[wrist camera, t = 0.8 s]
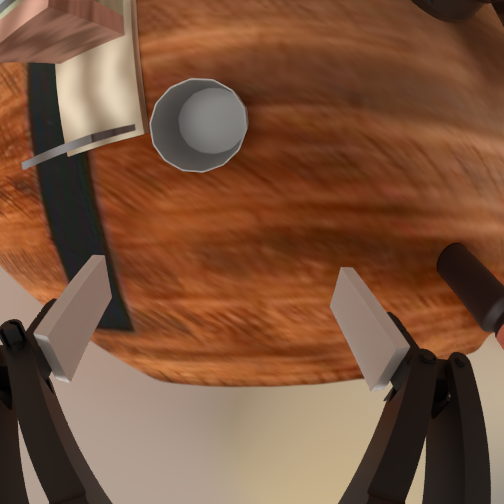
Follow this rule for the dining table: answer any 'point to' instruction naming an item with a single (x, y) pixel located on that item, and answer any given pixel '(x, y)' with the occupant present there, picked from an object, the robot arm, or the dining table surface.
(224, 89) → the cup
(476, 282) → the bottle
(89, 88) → the pastel book stand
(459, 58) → the dining table surface
